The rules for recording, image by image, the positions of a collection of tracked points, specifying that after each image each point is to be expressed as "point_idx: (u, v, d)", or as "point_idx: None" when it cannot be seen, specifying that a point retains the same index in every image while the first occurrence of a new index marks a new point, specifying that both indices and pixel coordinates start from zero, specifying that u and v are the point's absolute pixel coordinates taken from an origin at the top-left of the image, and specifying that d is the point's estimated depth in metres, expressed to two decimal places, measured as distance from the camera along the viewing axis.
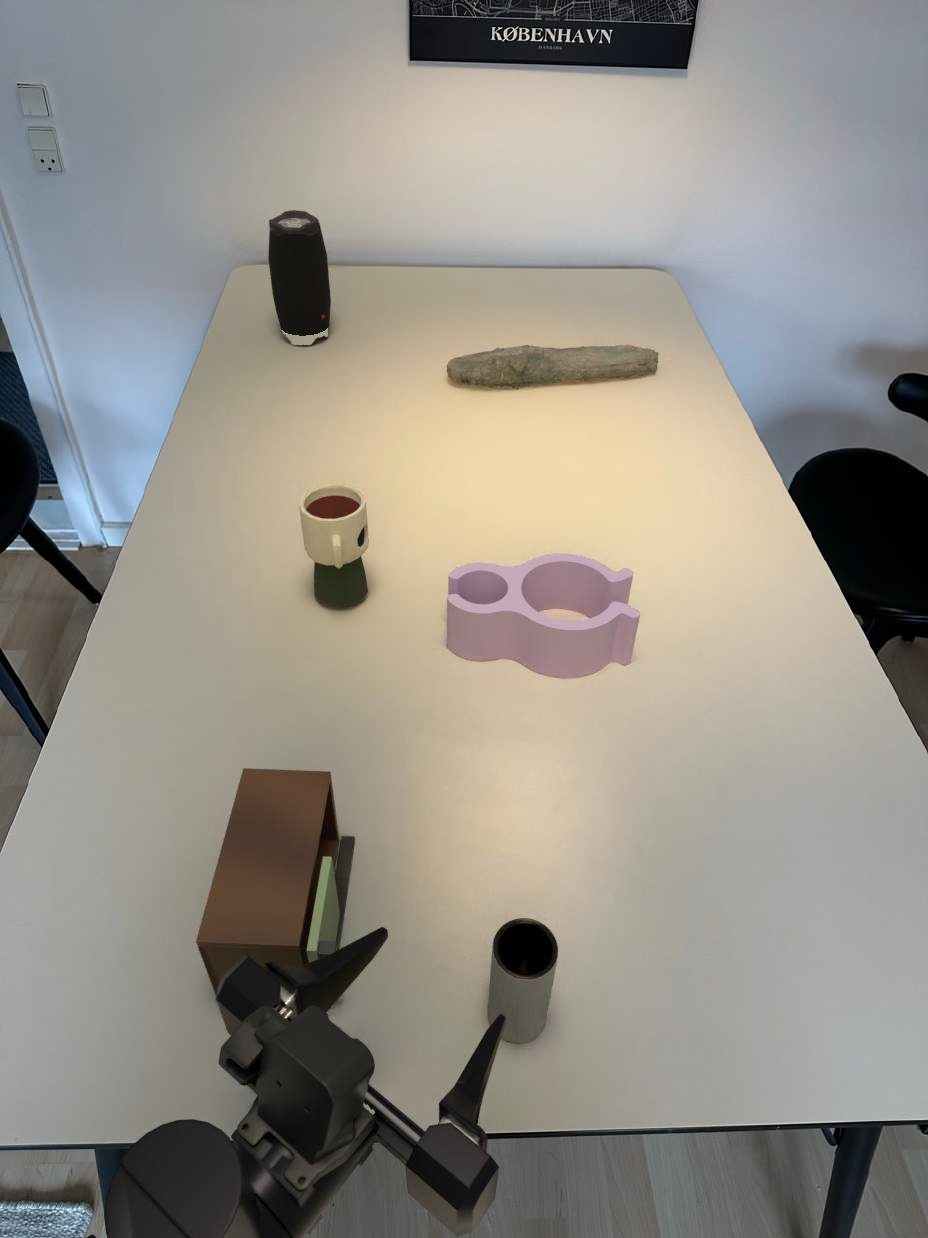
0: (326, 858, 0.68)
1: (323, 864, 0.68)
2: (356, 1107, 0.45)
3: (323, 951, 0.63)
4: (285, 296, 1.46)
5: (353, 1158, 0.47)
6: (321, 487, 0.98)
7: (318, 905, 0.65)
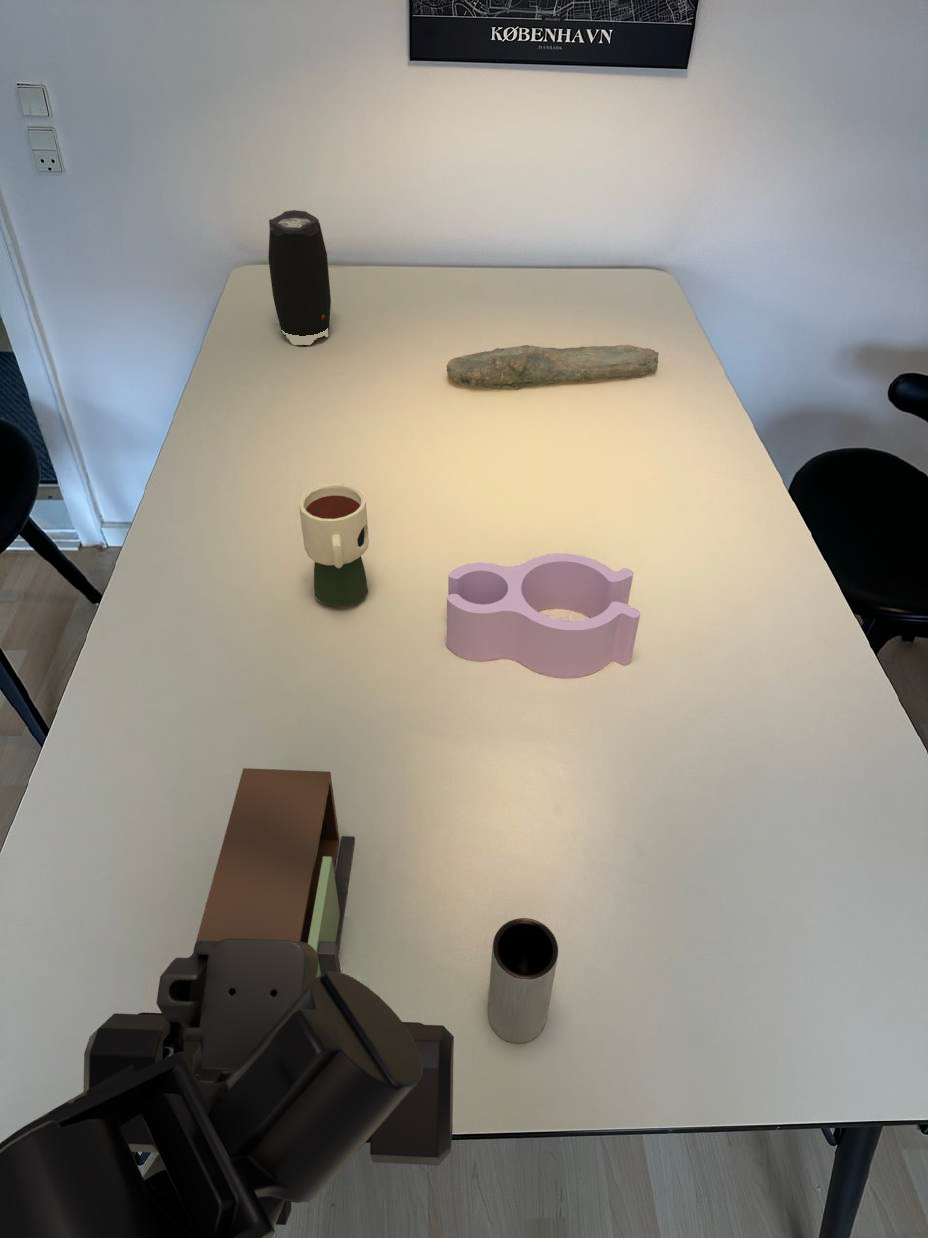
0: (326, 858, 0.68)
1: (323, 864, 0.68)
2: None
3: (323, 951, 0.63)
4: (285, 296, 1.46)
5: None
6: (321, 487, 0.98)
7: (318, 905, 0.65)
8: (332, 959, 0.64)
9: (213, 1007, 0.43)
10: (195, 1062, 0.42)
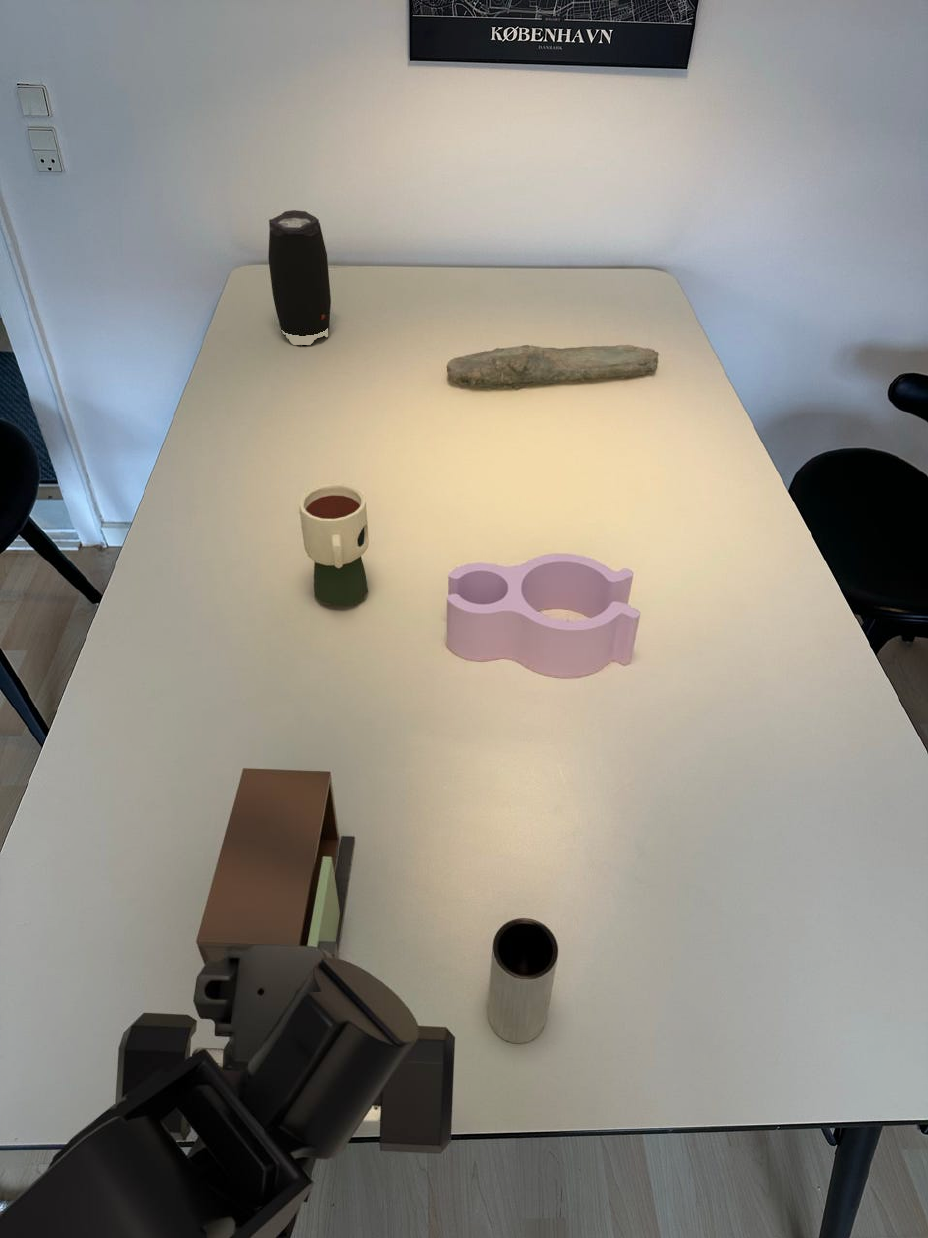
0: (326, 858, 0.68)
1: (323, 864, 0.68)
2: None
3: None
4: (285, 296, 1.46)
5: None
6: (321, 487, 0.98)
7: (318, 905, 0.65)
8: None
9: (243, 1005, 0.47)
10: (226, 1055, 0.47)
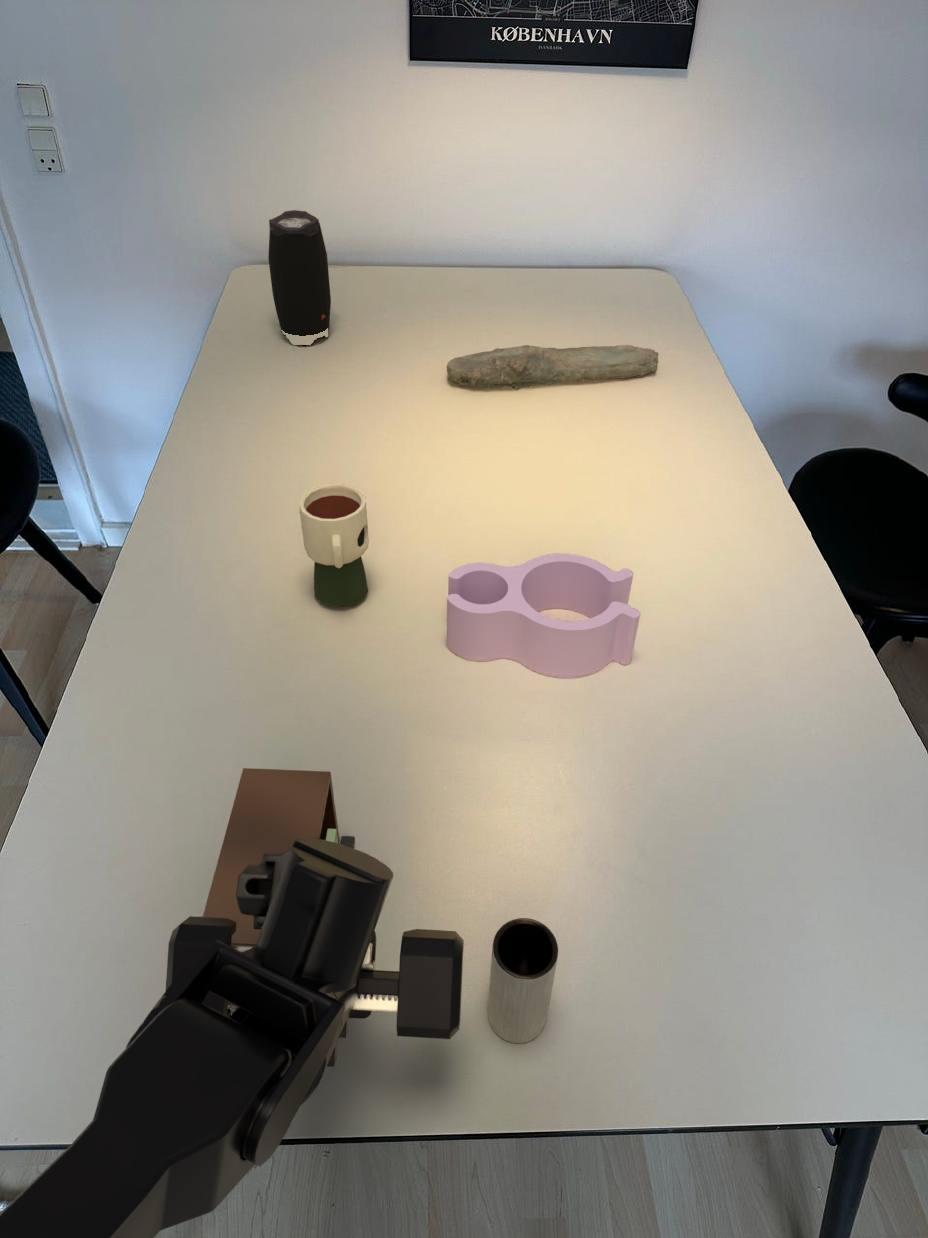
0: (331, 830, 0.70)
1: (328, 836, 0.70)
2: None
3: None
4: (285, 296, 1.46)
5: None
6: (321, 487, 0.98)
7: None
8: None
9: None
10: None
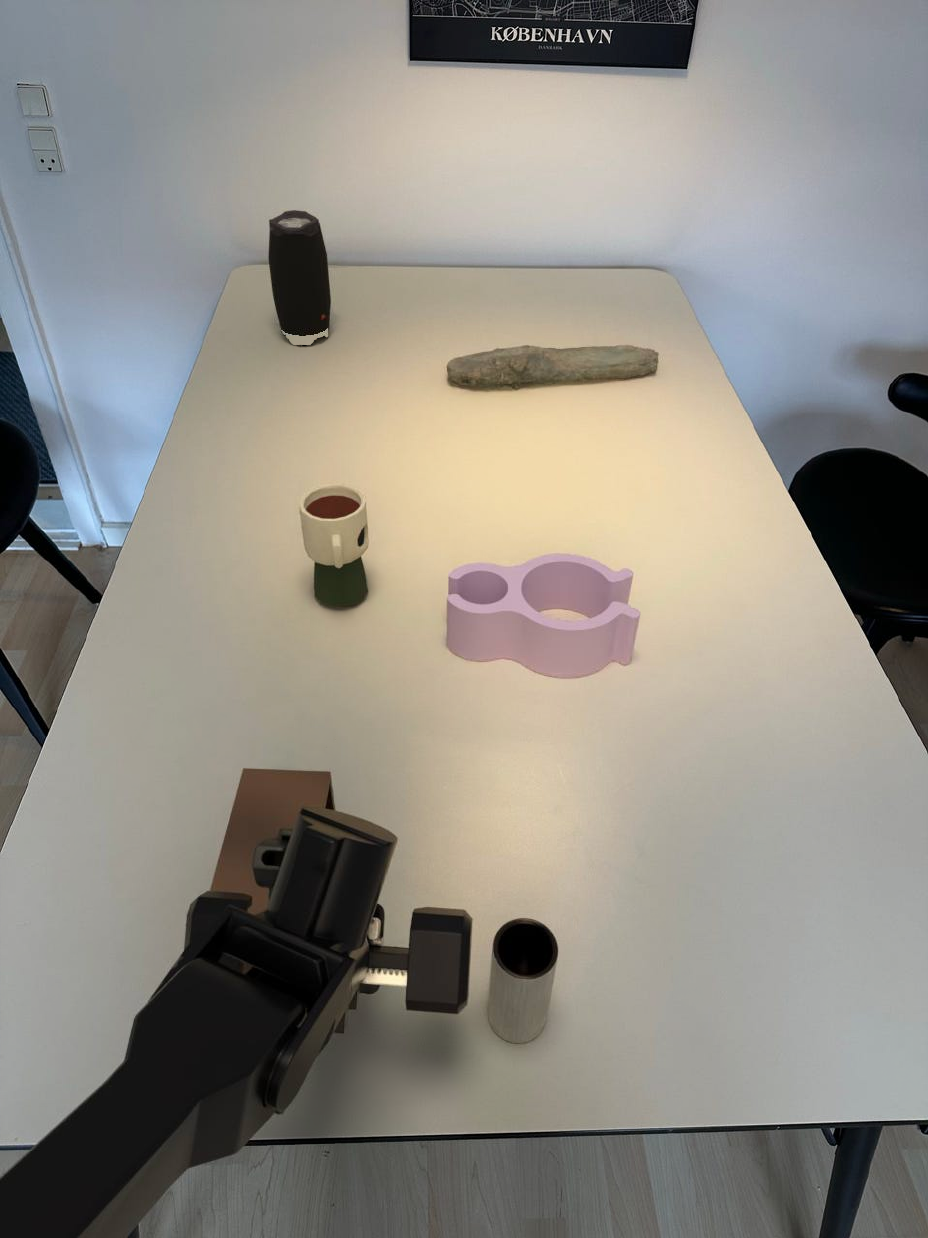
0: None
1: None
2: None
3: None
4: (285, 296, 1.46)
5: (363, 954, 0.57)
6: (321, 487, 0.98)
7: None
8: None
9: None
10: None
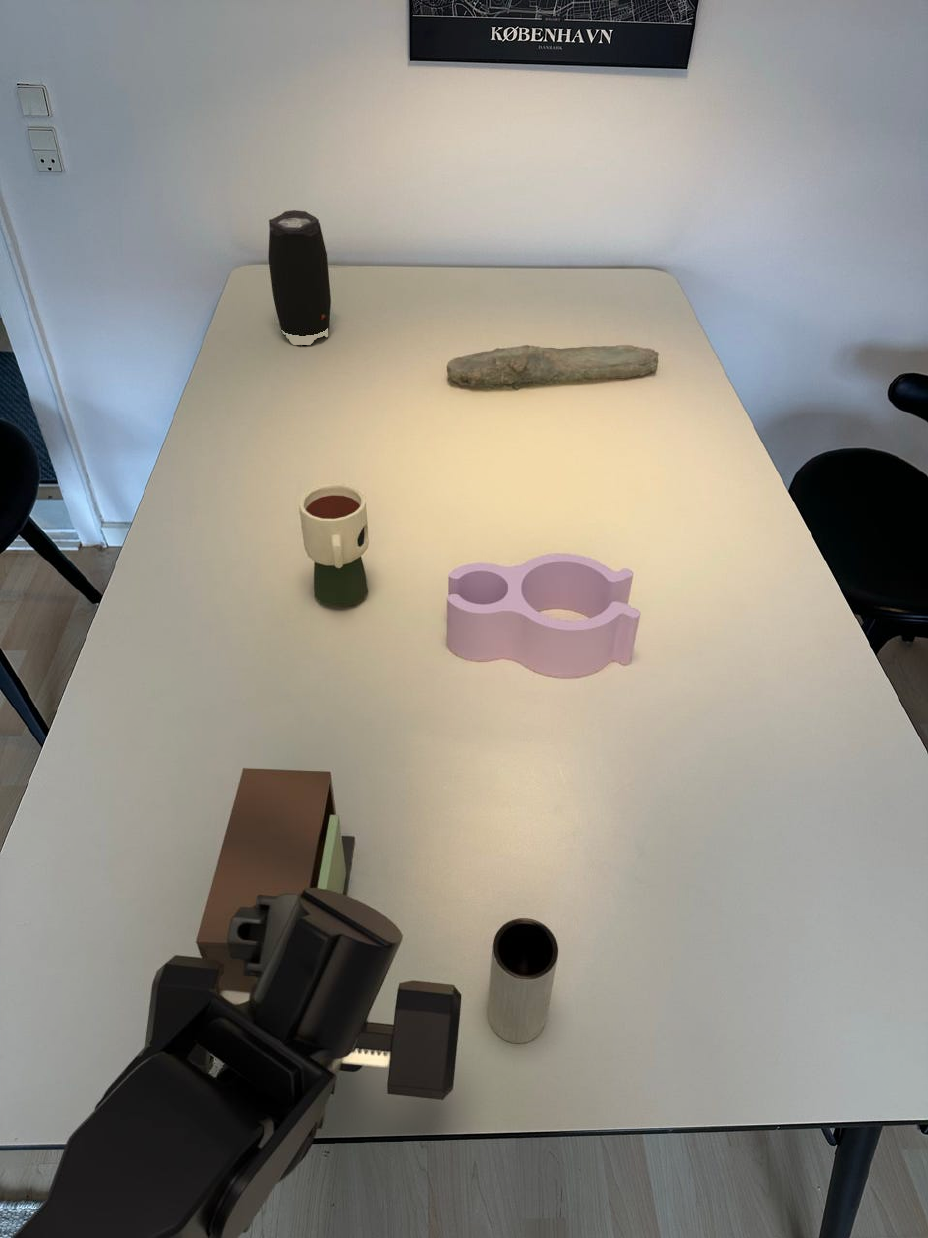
0: (333, 816, 0.71)
1: (330, 822, 0.71)
2: None
3: None
4: (285, 296, 1.46)
5: None
6: (321, 487, 0.98)
7: (326, 859, 0.68)
8: None
9: (271, 948, 0.52)
10: (253, 992, 0.51)
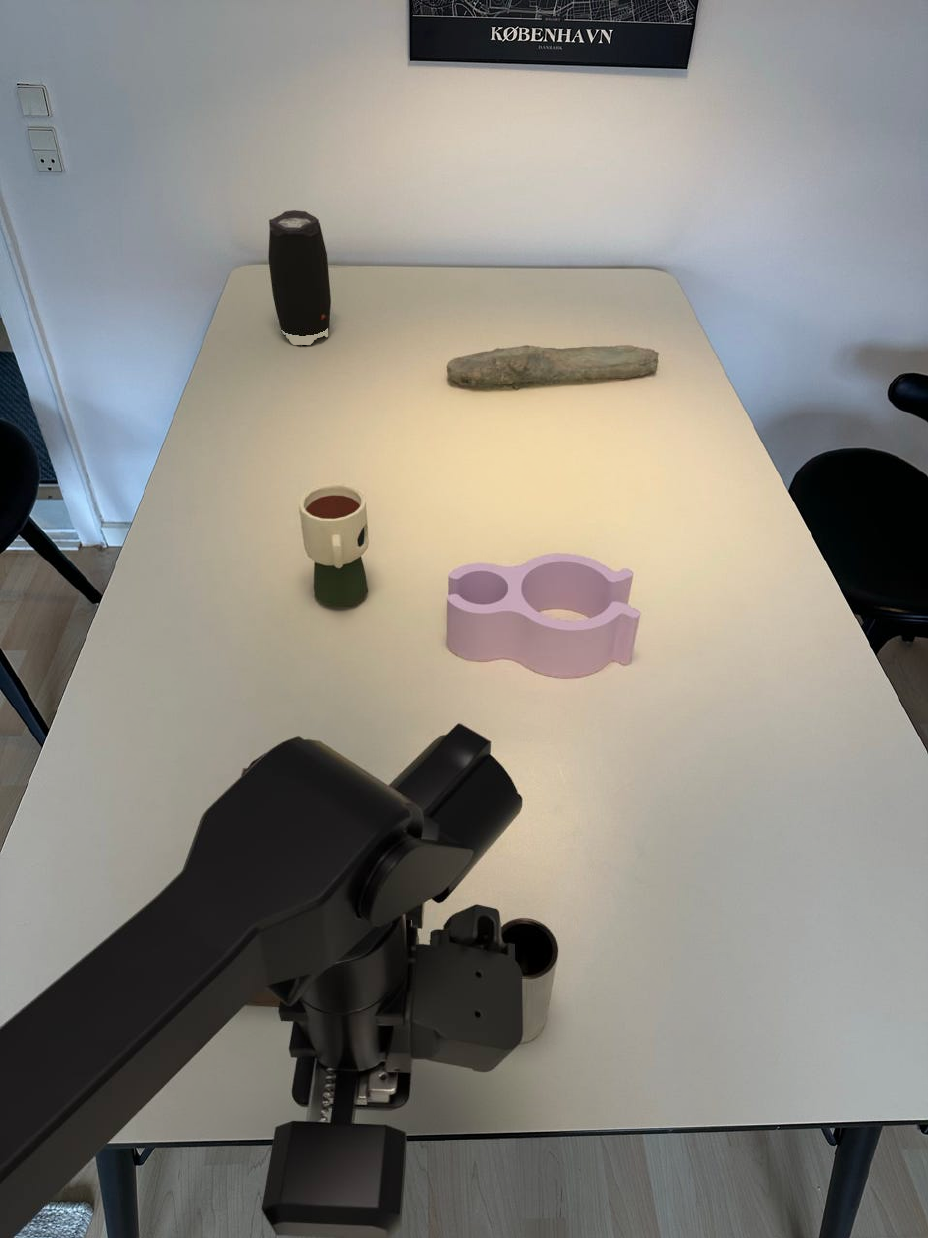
0: None
1: None
2: (447, 1058, 0.44)
3: None
4: (285, 296, 1.46)
5: (361, 1054, 0.43)
6: (321, 487, 0.98)
7: None
8: None
9: (466, 956, 0.46)
10: (418, 938, 0.46)
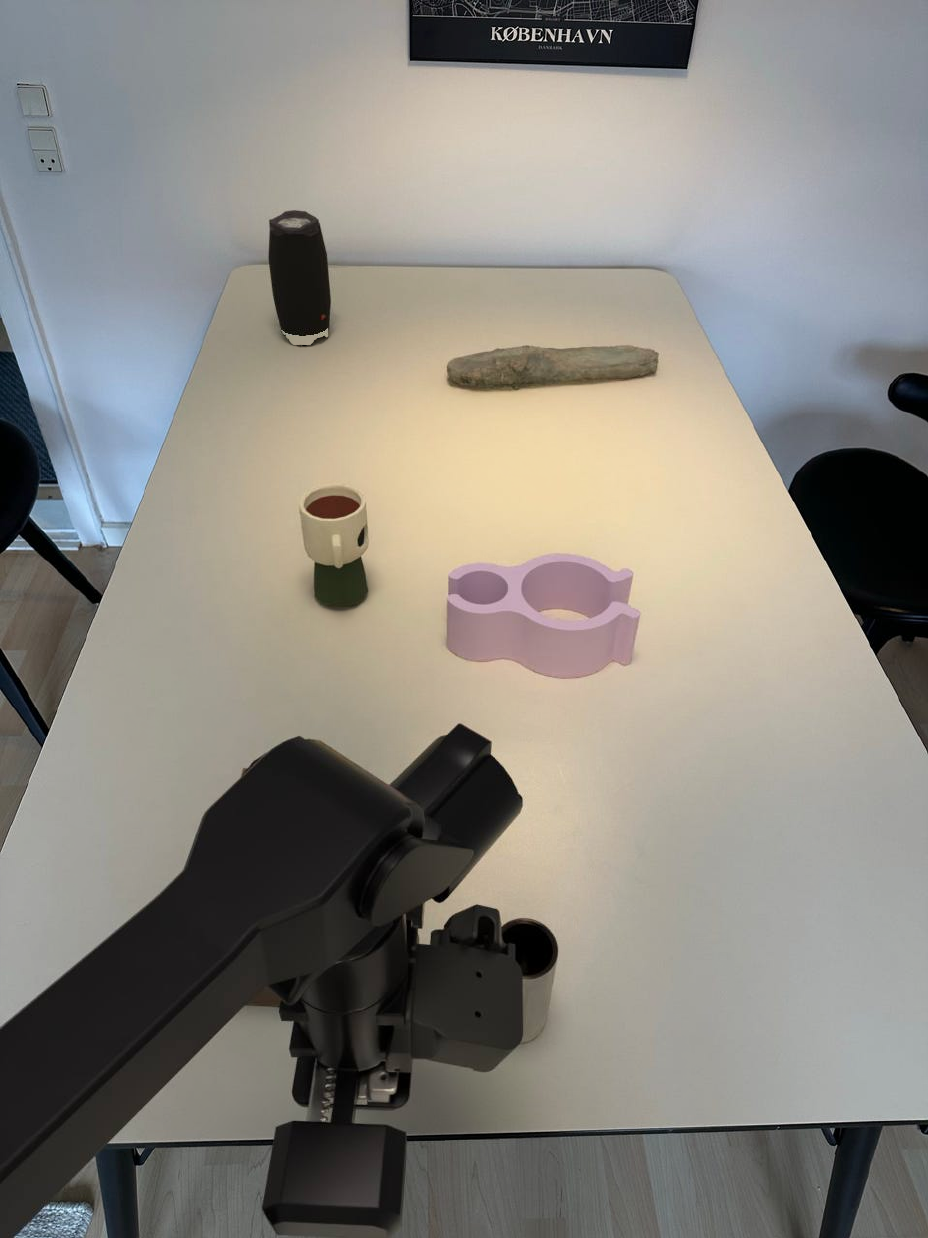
0: None
1: None
2: (447, 1058, 0.44)
3: None
4: (285, 296, 1.46)
5: (361, 1053, 0.43)
6: (321, 487, 0.98)
7: None
8: None
9: (466, 956, 0.46)
10: (418, 938, 0.46)
